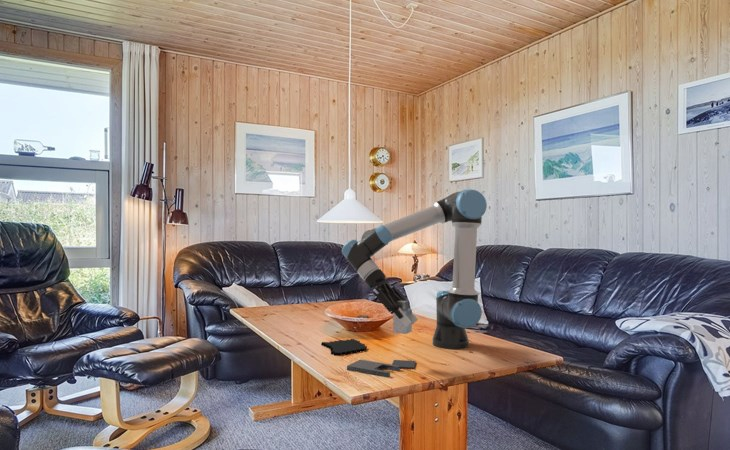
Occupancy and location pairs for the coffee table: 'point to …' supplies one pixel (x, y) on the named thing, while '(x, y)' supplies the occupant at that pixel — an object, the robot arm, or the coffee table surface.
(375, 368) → the slotted plate
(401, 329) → the stepped metal tower
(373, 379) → the coffee table surface
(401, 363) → the pad
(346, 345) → the decorative item
